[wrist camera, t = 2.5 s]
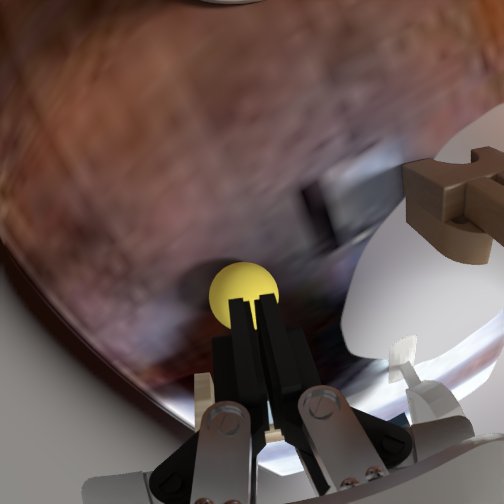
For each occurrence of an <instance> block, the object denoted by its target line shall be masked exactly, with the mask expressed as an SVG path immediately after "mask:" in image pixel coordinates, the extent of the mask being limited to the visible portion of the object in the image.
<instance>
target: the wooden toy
mask: <svg viewBox="0 0 504 504" xmlns="http://www.w3.org/2000/svg"><path fill="white" fill-rule="evenodd" d="M402 172H403V192H404V195H406V222H407V223H408V224H409V225H410V226H411V227H412V228H413V229H415V230H416V231H417V232H418V233H419V234H420V235H421V236H422V237H423V238H425V239H426V240H427V241H428V242H429V243H430V244H431V245H432V246H433V247H434V248H435V249H436V250H437V251H439V252H440V253H441V254H443V255H444V256H445V257H447V258H449V259H451V260H453V261H456V262H460V263H463V264H471V265H482V264H487V263H488V259H489V255H490V250H491V246H492V241H493V239H495V240H496V241H497V242H498V243H500V244H501V245H502V246H503V247H504V153H503V152H501V151H499V150H497V149H494V148H492V147H489V146H488V147H483V148H477V149H473V150H471V163H468V164H450V163H445V162H438V161H435V160H433V159H430V158H429V159H424V160H420V161H415V162H411V163H407V164H403V165H402Z"/></svg>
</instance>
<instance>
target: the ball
mask: <svg viewBox="0 0 504 504" xmlns="http://www.w3.org/2000/svg"><path fill="white" fill-rule="evenodd" d="M270 293H274V294H275V297H276V300H277V303H278V298H279V294H278V288H277V285H276V282H275V280H274V279H273V277H272V276H271V274H270V273H269V272H268V271H267V270H265V269H264V268H263V267H261V266H259V265H257V264H254V263H250V262H238V263H234V264H231V265H228V266H227V267H225V268H223V269H222V270H221V271H220V272H219V273H218V274H217V275H216V276H215V278H214V280H213V281H212V284H211V287H210V291H209V302H210V306H211V309H212V312H213V313H214V315H215V317H216V318H217V319H218V320H219V321H220V322H221V323H222V324H223V325H225V326H226V327H228V328H230V329H231V324H230V314H229V304H228V299H235V298H242V297H243V301H250V306H251V312H252V317H253V322H254V328H255V329H257V326H256V316H255V306H254V300H256V299H259V295H263V294H270Z"/></svg>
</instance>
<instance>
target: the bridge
mask: <svg viewBox="0 0 504 504" xmlns="http://www.w3.org/2000/svg"><path fill="white" fill-rule="evenodd" d="M194 401H195V433H196V432H197V431H198V430H199V429H200V424H201V419H202V416H203V413H204V412H205V411H206V409H207V408H208V407H210V406H211V405H213V404H215V399H214V384H213V381H212V378H211V375H210V373H201V374H194ZM269 426H270V431H265V438H266V443H269V442H276V441H281V440H285V439H284V436H282V435H281V430H280V429H277V430H275V429H274V425H273V423H272V424H269Z"/></svg>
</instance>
